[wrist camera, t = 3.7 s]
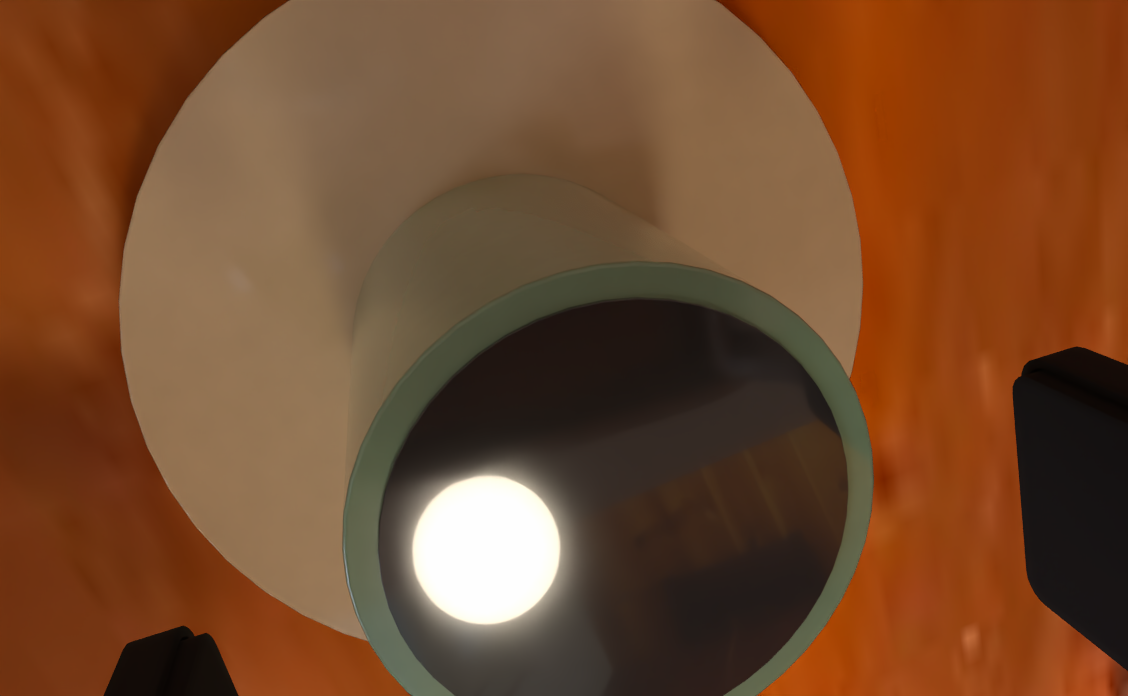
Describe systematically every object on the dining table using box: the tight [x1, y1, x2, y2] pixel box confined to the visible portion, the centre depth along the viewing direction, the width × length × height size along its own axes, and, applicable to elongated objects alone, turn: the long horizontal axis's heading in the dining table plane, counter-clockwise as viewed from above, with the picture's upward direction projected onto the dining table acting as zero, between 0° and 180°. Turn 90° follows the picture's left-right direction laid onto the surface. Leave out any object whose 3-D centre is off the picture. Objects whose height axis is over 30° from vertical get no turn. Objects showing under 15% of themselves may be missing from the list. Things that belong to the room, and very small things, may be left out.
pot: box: [119, 0, 874, 696], centre depth 16 cm, size 19×15×9 cm
